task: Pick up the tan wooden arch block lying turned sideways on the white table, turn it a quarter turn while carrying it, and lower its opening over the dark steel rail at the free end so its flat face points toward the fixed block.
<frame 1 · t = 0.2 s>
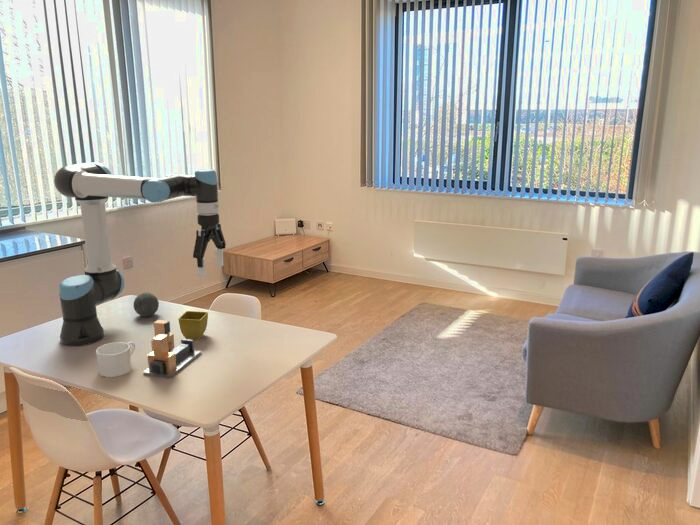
hand: (211, 270, 208), 27 cm above the table, fingers open, 13 cm apart
flower pot: (194, 337, 217), on the table
mug: (119, 369, 190), on the table
decorative ball: (147, 316, 239), on the table
rail base: (173, 363, 194), on the table
tan wooden arch block: (163, 351, 204), on the table
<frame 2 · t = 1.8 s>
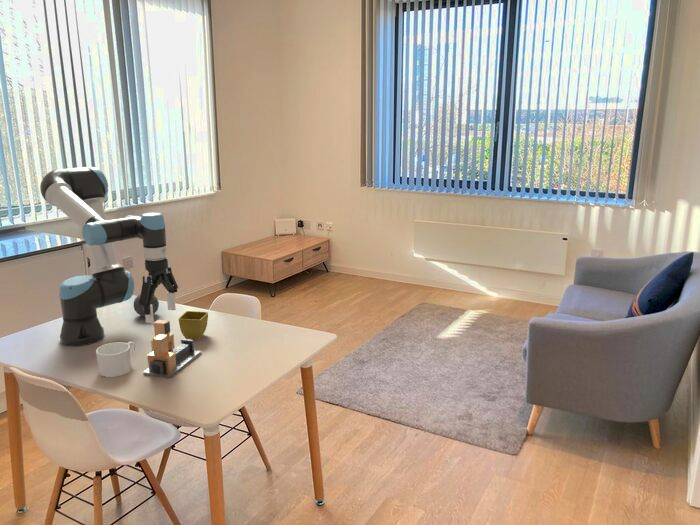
hand: (161, 316, 200), 14 cm above the table, fingers open, 13 cm apart
nothing on the table moved.
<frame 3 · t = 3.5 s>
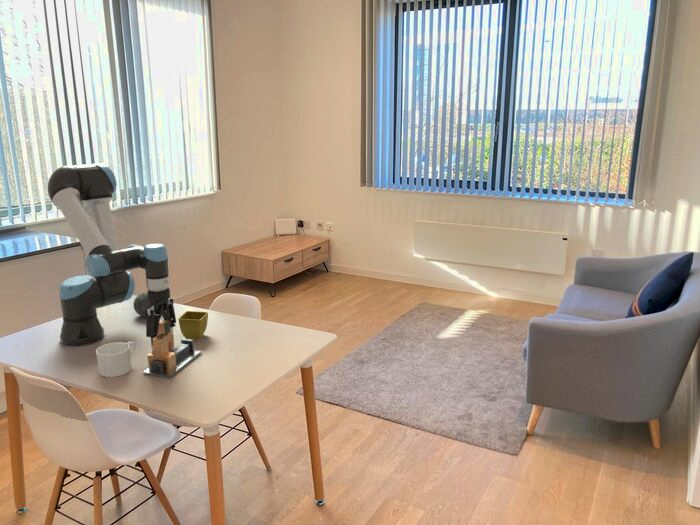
hand: (163, 348, 204), 1 cm above the table, fingers closed on tan wooden arch block, 8 cm apart
tan wooden arch block: (163, 351, 204), on the table, touching gripper
everything else where it was.
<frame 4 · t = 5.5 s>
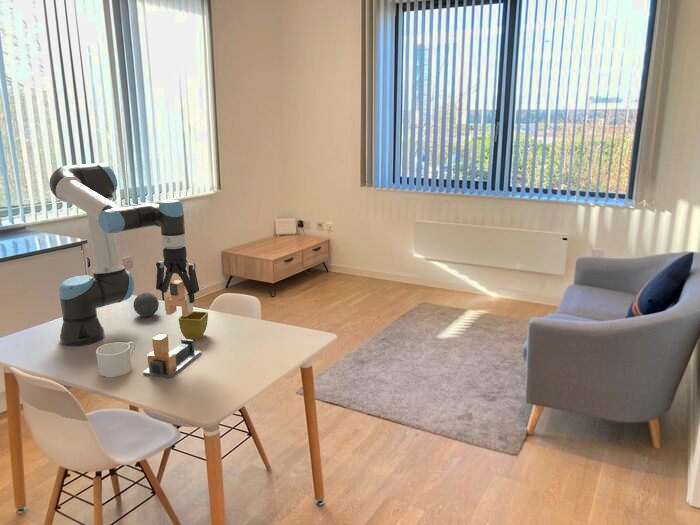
hand: (179, 310, 195), 17 cm above the table, fingers closed on tan wooden arch block, 8 cm apart
tan wooden arch block: (179, 313, 196), point 16 cm above the table, touching gripper
everything else where it was.
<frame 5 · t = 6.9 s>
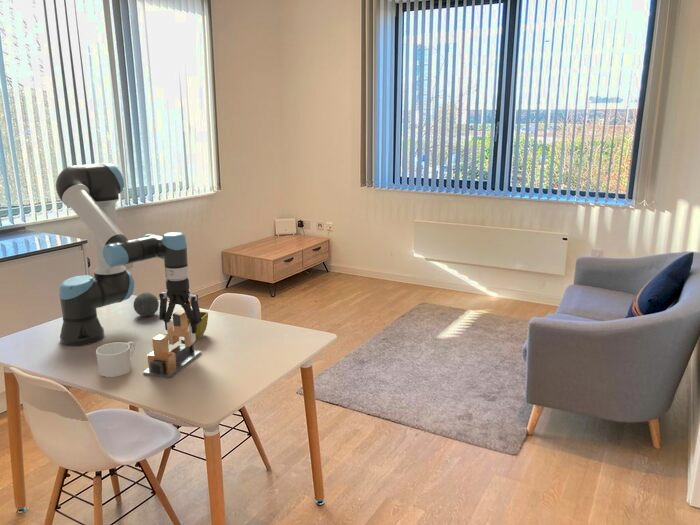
hand: (181, 340, 198), 6 cm above the table, fingers closed on tan wooden arch block, 8 cm apart
tan wooden arch block: (182, 343, 199), point 5 cm above the table, touching gripper
everything else where it was.
when the fingers open (3 cm above the table, at t = 7.9 s): tan wooden arch block stays where it is, resting on rail base.
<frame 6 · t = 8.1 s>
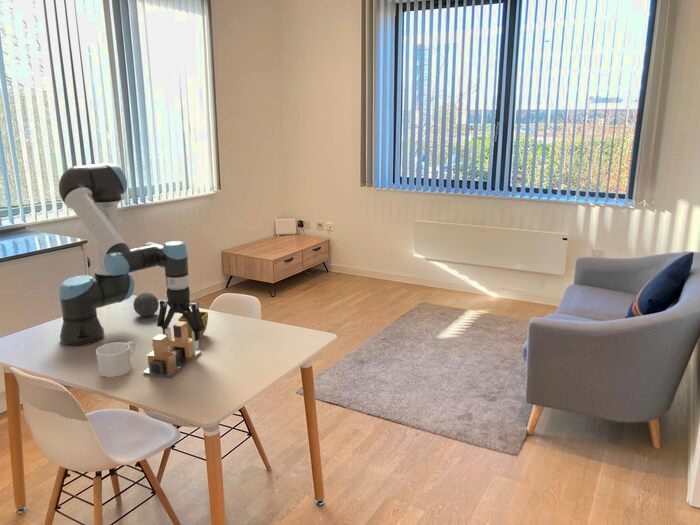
hand: (182, 347, 199), 4 cm above the table, fingers open, 10 cm apart
tan wooden arch block: (182, 354, 200), point 1 cm above the table, touching rail base
everything else where it was.
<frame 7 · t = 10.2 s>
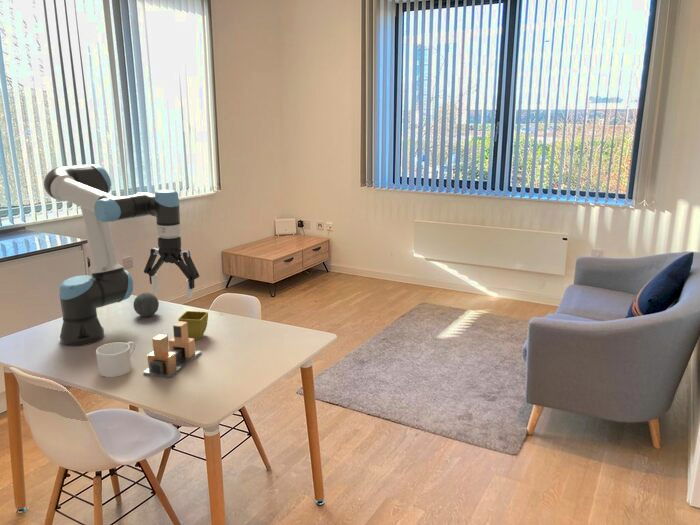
hand: (172, 295, 198), 22 cm above the table, fingers open, 13 cm apart
nothing on the table moved.
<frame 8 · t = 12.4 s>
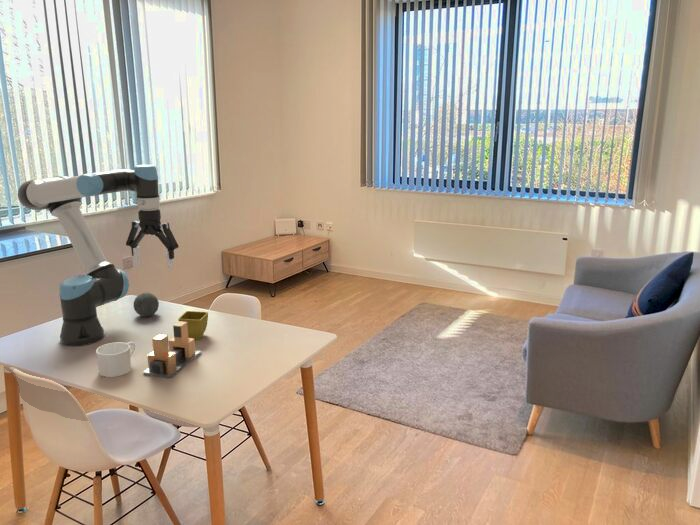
hand: (153, 266, 208), 29 cm above the table, fingers open, 13 cm apart
nothing on the table moved.
at the end: tan wooden arch block 0.1 cm from the target spot on the rail base, point 1.0 cm above the rail base's base; tan wooden arch block tilted 0°; the gripper is holding nothing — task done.
